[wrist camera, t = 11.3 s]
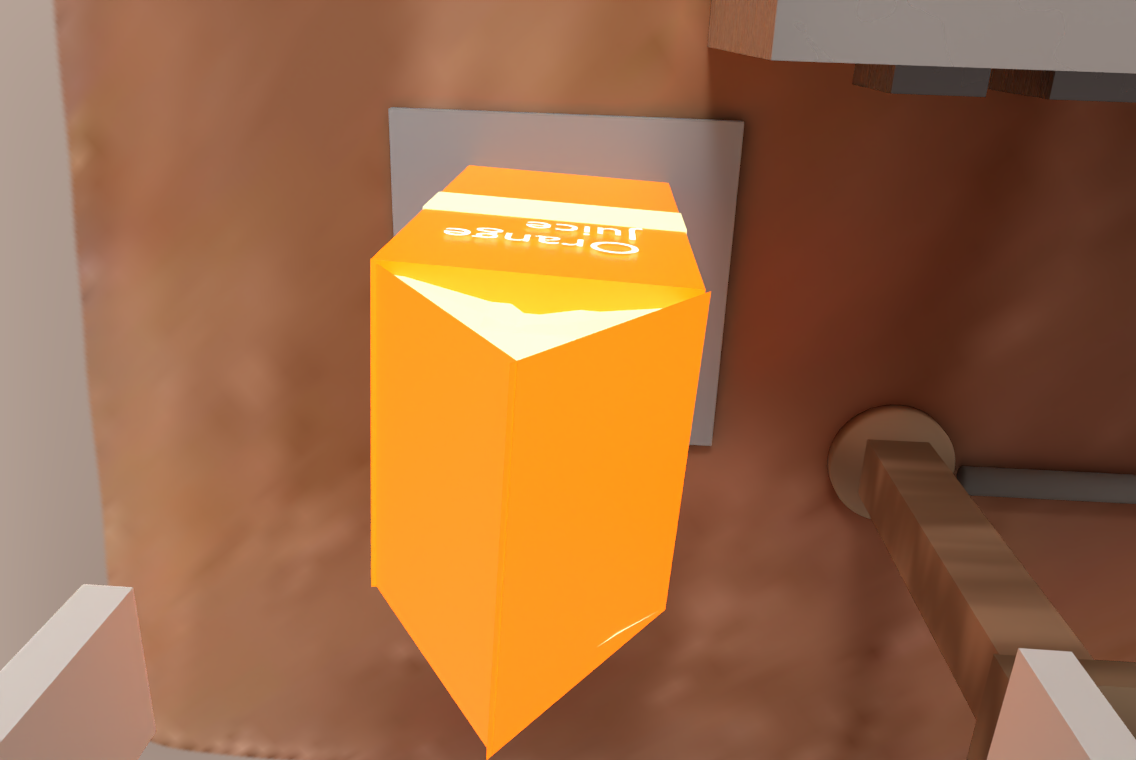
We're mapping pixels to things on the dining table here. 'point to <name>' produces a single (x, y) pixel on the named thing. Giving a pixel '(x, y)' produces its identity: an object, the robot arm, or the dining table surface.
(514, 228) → the orange juice
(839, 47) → the box
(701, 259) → the felt mat
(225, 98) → the dining table surface
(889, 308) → the dining table surface
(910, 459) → the cable post
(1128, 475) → the dark gray rod
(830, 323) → the dining table surface
